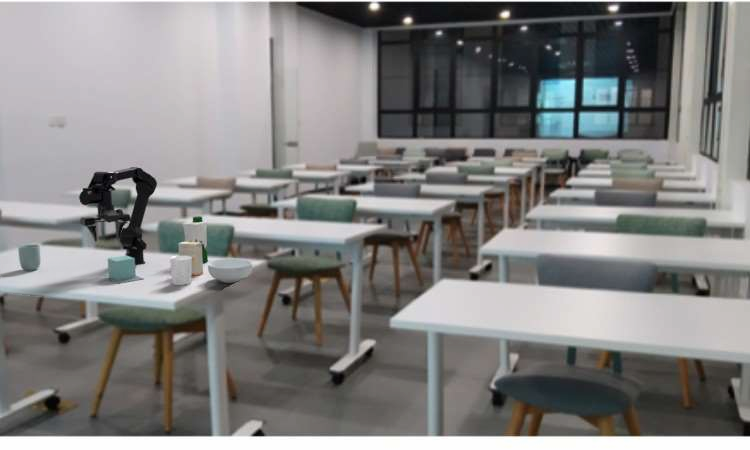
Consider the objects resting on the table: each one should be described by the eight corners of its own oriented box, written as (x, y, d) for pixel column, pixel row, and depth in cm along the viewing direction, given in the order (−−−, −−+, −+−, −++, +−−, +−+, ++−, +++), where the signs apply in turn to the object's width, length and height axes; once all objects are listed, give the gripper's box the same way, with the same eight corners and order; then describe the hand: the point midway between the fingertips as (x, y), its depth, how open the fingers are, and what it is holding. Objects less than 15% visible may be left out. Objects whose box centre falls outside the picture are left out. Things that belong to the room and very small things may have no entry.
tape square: (132, 274, 265) (132, 274, 265) (143, 279, 258) (143, 278, 258) (108, 278, 258) (108, 278, 258) (118, 283, 251) (118, 283, 251)
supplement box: (203, 273, 268) (202, 242, 266) (196, 276, 263) (195, 244, 261) (186, 271, 271) (185, 240, 268) (179, 274, 266) (178, 242, 264)
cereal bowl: (209, 287, 247) (208, 268, 246) (207, 276, 262) (207, 259, 261) (254, 284, 251) (254, 266, 250) (250, 274, 267) (250, 257, 266)
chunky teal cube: (127, 274, 266) (126, 255, 265) (135, 277, 261) (134, 258, 259) (108, 277, 261) (107, 258, 260) (116, 280, 256) (115, 261, 254)
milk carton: (210, 261, 290) (209, 216, 287) (198, 265, 282) (196, 219, 279) (194, 259, 294) (192, 215, 290) (181, 263, 285) (179, 218, 282)
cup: (45, 267, 277) (43, 244, 276) (34, 272, 270) (32, 248, 268) (27, 267, 278) (25, 244, 276) (16, 271, 270) (14, 247, 269)
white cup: (173, 280, 256) (172, 255, 254) (194, 280, 256) (193, 255, 255) (169, 285, 248) (168, 260, 246) (190, 285, 249) (189, 259, 247)
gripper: (89, 206, 256) (91, 245, 258) (135, 202, 269) (137, 239, 271) (78, 203, 264) (81, 241, 266) (123, 199, 276) (126, 236, 279)
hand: (107, 239), depth 270 cm, fingers open, 9 cm apart
